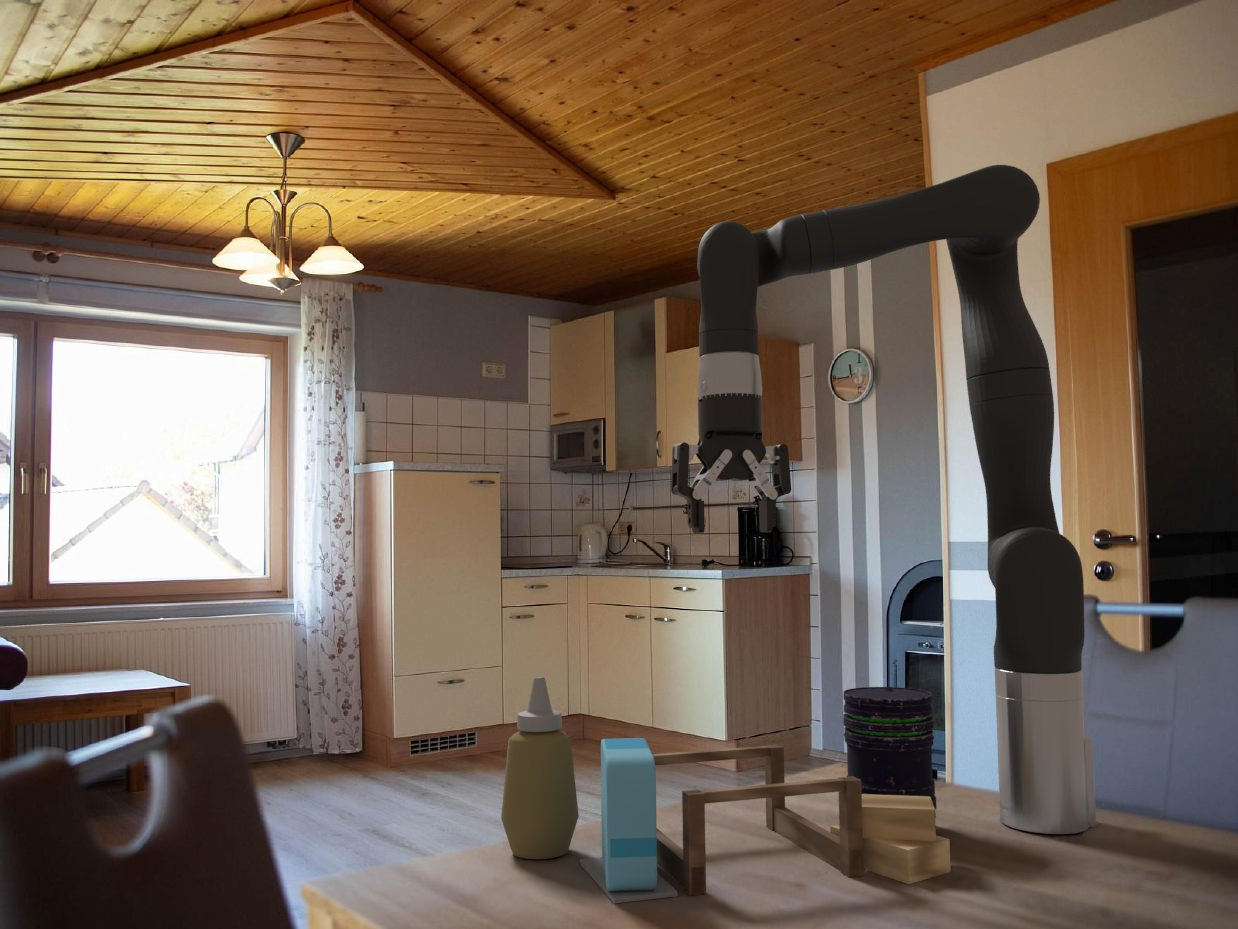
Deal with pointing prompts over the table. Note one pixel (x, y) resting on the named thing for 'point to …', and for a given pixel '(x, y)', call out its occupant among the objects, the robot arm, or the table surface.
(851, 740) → the dark navy cylinder
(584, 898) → the table surface
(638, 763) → the blue rounded block
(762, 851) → the table surface
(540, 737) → the squeeze bottle
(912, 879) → the offcut lower
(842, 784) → the frame
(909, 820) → the offcut upper
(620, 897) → the mat
